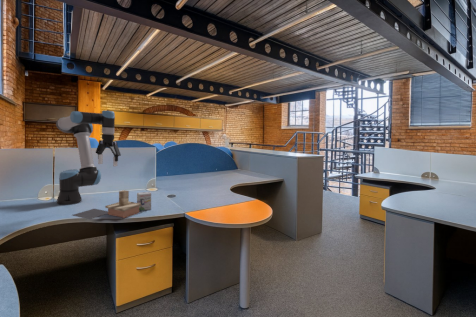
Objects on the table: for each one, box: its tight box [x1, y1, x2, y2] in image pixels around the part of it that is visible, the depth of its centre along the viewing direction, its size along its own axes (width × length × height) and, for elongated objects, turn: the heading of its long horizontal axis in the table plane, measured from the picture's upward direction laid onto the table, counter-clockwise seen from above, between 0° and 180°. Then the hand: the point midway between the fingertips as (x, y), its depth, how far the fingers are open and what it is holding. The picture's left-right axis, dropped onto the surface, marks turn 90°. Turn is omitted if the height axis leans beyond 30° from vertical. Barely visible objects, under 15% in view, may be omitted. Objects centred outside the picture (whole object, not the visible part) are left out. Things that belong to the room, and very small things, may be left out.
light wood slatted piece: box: [104, 189, 141, 211], centre depth 164 cm, size 15×15×10 cm
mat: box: [72, 208, 108, 220], centre depth 162 cm, size 16×16×1 cm
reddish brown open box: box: [107, 206, 140, 219], centre depth 165 cm, size 13×13×5 cm
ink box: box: [136, 191, 152, 211], centre depth 176 cm, size 9×5×12 cm, turn 126°
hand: (107, 165), depth 174 cm, fingers open, 13 cm apart
